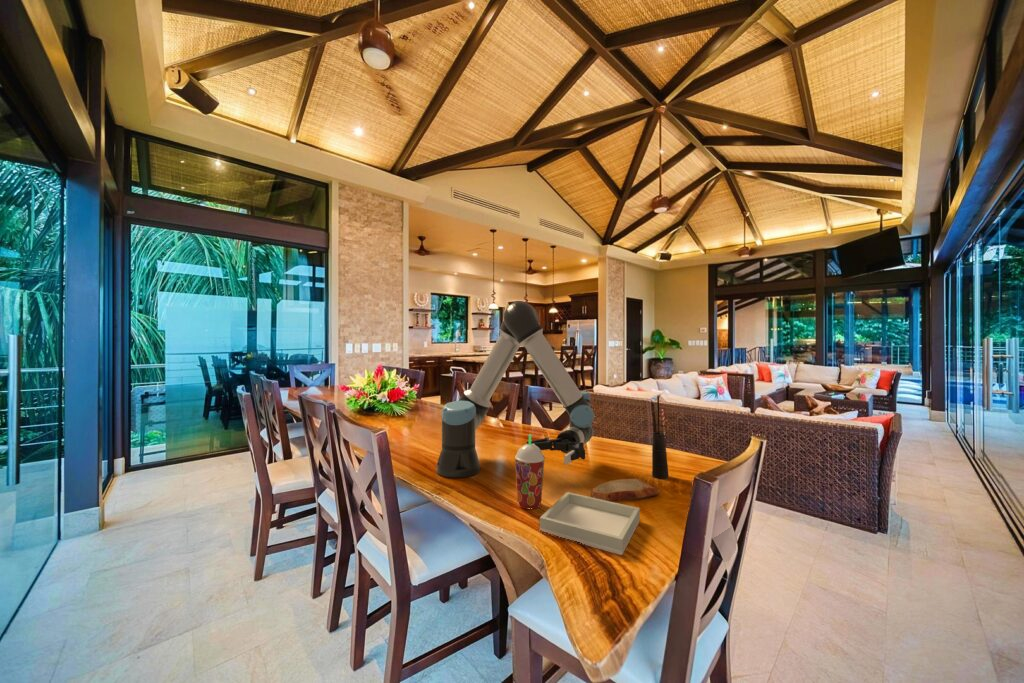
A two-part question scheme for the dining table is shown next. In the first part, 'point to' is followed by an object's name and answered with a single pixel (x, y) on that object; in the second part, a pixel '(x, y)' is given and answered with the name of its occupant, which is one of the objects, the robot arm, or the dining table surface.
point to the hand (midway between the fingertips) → (544, 456)
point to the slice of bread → (623, 490)
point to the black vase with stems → (659, 453)
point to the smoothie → (529, 475)
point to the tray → (592, 522)
